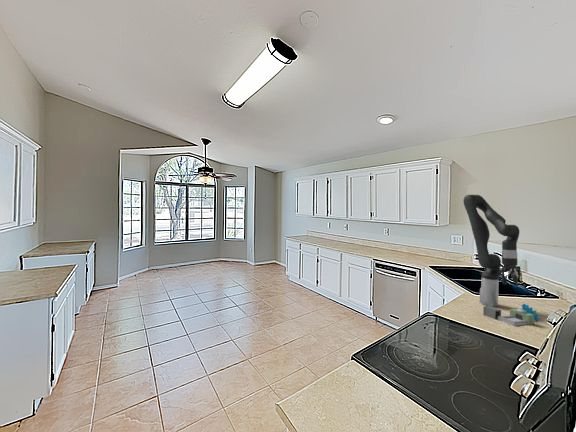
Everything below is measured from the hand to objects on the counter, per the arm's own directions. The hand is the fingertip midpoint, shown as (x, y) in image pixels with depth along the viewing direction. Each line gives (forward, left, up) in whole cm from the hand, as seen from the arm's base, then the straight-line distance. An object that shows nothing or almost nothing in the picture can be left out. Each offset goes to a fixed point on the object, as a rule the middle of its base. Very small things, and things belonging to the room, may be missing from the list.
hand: (510, 283), depth 173 cm
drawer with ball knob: (+14, -14, -17) cm, 26 cm away
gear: (+12, 0, -18) cm, 21 cm away
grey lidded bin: (+5, -19, -17) cm, 26 cm away
